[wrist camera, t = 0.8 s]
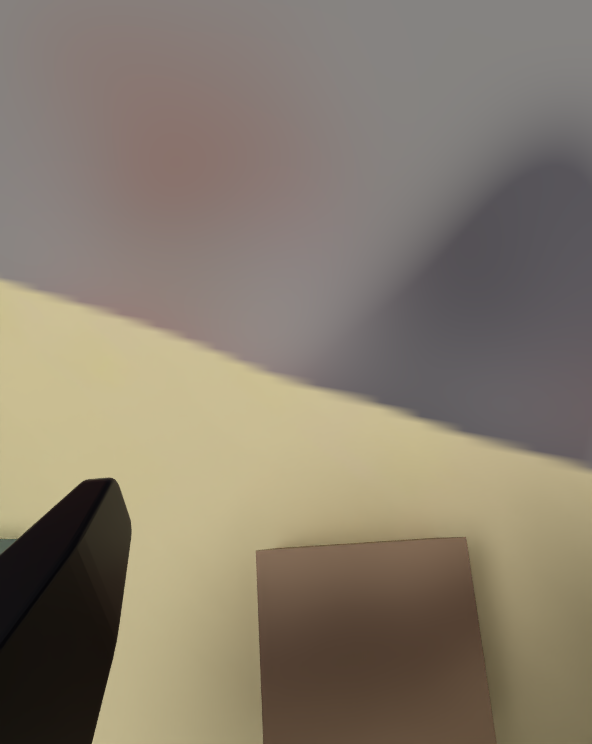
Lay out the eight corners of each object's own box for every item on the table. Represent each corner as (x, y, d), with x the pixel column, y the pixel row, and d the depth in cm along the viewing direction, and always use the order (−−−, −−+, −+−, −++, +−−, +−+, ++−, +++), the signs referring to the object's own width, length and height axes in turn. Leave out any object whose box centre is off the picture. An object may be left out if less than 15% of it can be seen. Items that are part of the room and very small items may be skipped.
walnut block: (461, 723, 19) (503, 786, 14) (284, 731, 19) (265, 796, 14) (436, 537, 20) (465, 537, 16) (275, 548, 21) (255, 550, 16)
